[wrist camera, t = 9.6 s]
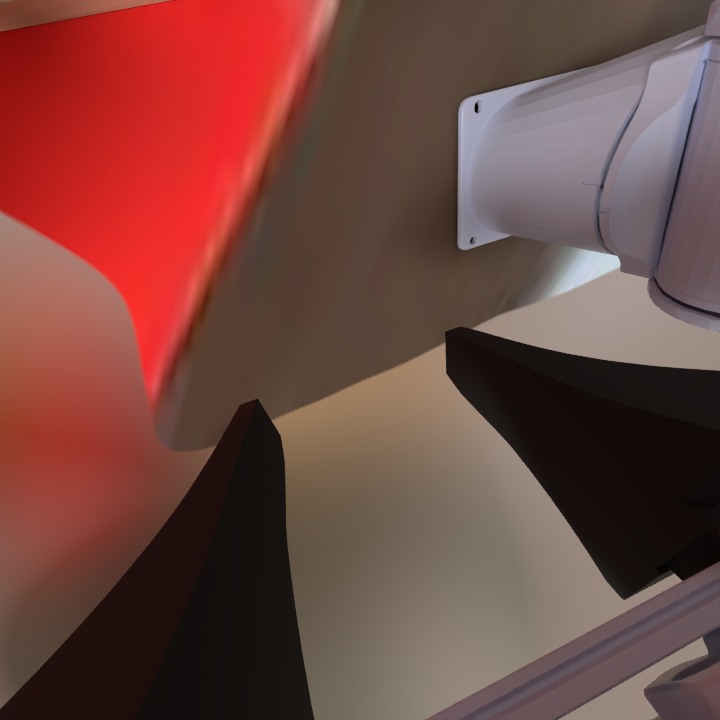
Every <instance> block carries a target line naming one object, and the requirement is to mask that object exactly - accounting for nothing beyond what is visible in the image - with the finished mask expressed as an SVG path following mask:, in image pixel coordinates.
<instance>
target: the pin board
mask: <svg viewBox="0 0 720 720" xmlns="http://www.w3.org/2000/svg"><path fill="white" fill-rule="evenodd" d="M164 1H170V0H0V32H1V31H7V30H12V29H17V28H23V27H28V26H34V25H39V24H45V23H50V22H56V21H61V20H66V19H72V18H77V17H83V16H88V15H94V14H99V13H104V12H110V11H115V10H121V9H126V8H132V7H137V6H142V5H148V4H153V3H159V2H164Z"/></svg>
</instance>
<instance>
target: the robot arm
mask: <svg viewBox="0 0 720 720" xmlns="http://www.w3.org/2000/svg"><path fill="white" fill-rule="evenodd" d="M476 103H477V104H478V111H477V113H476V112H475V110H474V107H475V104H476ZM512 235H513V236H518V237H524V238H529V239H534V240H539V241H544V242H549V243H554V244H560V245H565V246H570V247H575V248H580V249H585V250H590V251H596V252H601V253H606V254H611V255H617V256H618V257H619V259H620V263H621V265H620V271H621V272H624V273H629V274H633V275H637V276H641V277H645V278H649V280H648V287H647V289H648V292H649V296H650V298H651V299H652V301H653V302H654V304H655V305H656V306H658V307H659V308H660V309H661V310H663V311H664V312H665V313H667V314H669V315H671V316H673V317H674V318H676V319H679V320H681V321H684V322H686V323H688V324H692V325H695V326H698V327H701V328H705V329H708V330H713V331H717V332H720V0H714V1H713V2H712V3H711V5H710V8H709V12H708V20H707V24H704V25H702V26H699V27H696V28H694V29H691V30H689V31H686V32H683V33H681V34H678V35H675V36H673V37H670V38H668V39H665V40H662V41H660V42H657V43H654V44H652V45H649V46H646V47H644V48H641V49H639V50H636V51H633V52H631V53H628V54H625V55H623V56H620V57H618V58H615V59H612V60H610V61H607V62H604V63H602V64H599V65H596V66H592V67H588V68H583V69H579V70H575V71H571V72H567V73H563V74H559V75H555V76H551V77H547V78H543V79H539V80H535V81H531V82H527V83H523V84H519V85H515V86H511V87H507V88H503V89H499V90H495V91H491V92H487V93H483V94H479V95H475V96H471V97H468V98H466V99H465V100H463V102H462V103H461V105H460V107H459V119H458V247H459V248H460V249H462V250H467V249H471V248H474V247H477V246H480V245H483V244H486V243H490V242H493V241H496V240H499V239H502V238H506V237H509V236H512ZM472 237H473V241H472V242H471V243H470V239H471V238H472ZM445 338H446V373H447V375H448V376H449V378H450V379H451V381H452V382H453V383H454V385H455V386H456V387H457V389H458V390H459V391H460V393H461V394H462V395H463V396H464V397H465V398H466V399H467V400H468V401H469V402H470V403H471V405H473V407H474V408H475V409H476V410H477V411H478V412H479V413H480V414H481V415H482V416H483V417H484V418H485V419H486V420H487V421H488V422H489V423H490V424H491V425H492V426H493V427H494V428H495V429H496V430H497V431H498V433H499V434H500V435H501V436H502V437H503V438H504V439H505V440H506V441H507V442H508V443H509V445H510V446H511V447H512V448H513V449H514V450H515V452H516V453H517V454H518V456H519V457H520V458H521V459H522V461H523V462H524V463H525V465H526V466H527V467H528V468H529V470H530V471H531V472H532V474H533V475H534V476H535V477H536V479H537V480H538V481H539V483H540V484H541V486H542V487H543V488H544V490H545V491H546V492H547V493H548V495H549V496H550V497H551V499H552V500H553V502H554V503H555V505H556V506H557V507H558V509H559V510H560V512H561V513H562V515H563V516H564V517H565V519H566V520H567V522H568V523H569V524H570V526H571V527H572V529H573V530H574V532H575V533H576V535H577V536H578V538H579V539H580V541H581V543H582V544H583V546H584V547H585V549H586V550H587V552H588V553H589V554H590V556H591V558H592V559H593V561H594V562H595V564H596V565H597V567H598V569H599V570H600V572H601V573H602V575H603V577H604V578H605V580H606V581H607V582H608V583H609V584H610V586H611V587H612V588H613V589H614V590H615V591H616V592H617V594H618V595H619V596H620V597H621V598H622V599H624V600H625V599H627V598H629V597H631V596H633V595H634V594H637V593H638V592H640V591H642V590H644V589H646V588H648V587H650V586H652V585H654V584H656V583H657V582H659V581H661V580H663V579H665V578H667V577H669V576H671V575H672V574H674V573H675V574H676V575H677V576H678V577H679V578H680V579H681V580H682V582H680V583H679V584H677V585H675V586H673V587H671V588H670V589H667V590H666V591H664V592H662V593H660V594H658V595H656V596H655V597H653V598H651V599H649V600H647V601H645V602H643V603H641V604H640V605H638V606H636V607H634V608H632V609H630V610H628V611H627V612H625V613H623V614H621V615H619V616H617V617H615V618H614V619H612V620H610V621H608V622H606V623H604V624H602V625H601V626H599V627H597V628H595V629H593V630H591V631H589V632H587V633H586V634H584V635H582V636H580V637H578V638H576V639H575V640H573V641H571V642H569V643H567V644H565V645H563V646H562V647H560V648H558V649H556V650H554V651H552V652H550V653H549V654H547V655H545V656H543V657H541V658H539V659H537V660H536V661H534V662H532V663H530V664H528V665H526V666H524V667H522V668H521V669H519V670H517V671H515V672H513V673H511V674H509V675H508V676H506V677H504V678H502V679H500V680H498V681H497V682H495V683H493V684H491V685H489V686H487V687H485V688H483V689H482V690H480V691H478V692H476V693H474V694H472V695H470V696H469V697H467V698H465V699H463V700H461V701H459V702H457V703H456V704H454V705H452V706H450V707H448V708H446V709H444V710H442V711H441V712H439V713H437V714H435V715H433V716H431V717H430V718H428V719H426V720H558V719H560V718H562V717H563V716H565V715H567V714H569V713H570V712H572V711H574V710H576V709H577V708H579V707H581V706H582V705H584V704H586V703H588V702H590V701H591V700H593V699H595V698H596V697H598V696H600V695H602V694H603V693H605V692H607V691H609V690H610V689H612V688H614V687H616V686H617V685H619V684H621V683H622V682H624V681H626V680H628V679H629V678H631V677H633V676H635V675H636V674H638V673H640V672H642V671H643V670H645V669H647V668H649V667H650V666H652V665H654V664H655V663H657V662H659V661H661V660H663V659H664V658H666V657H668V656H670V655H671V654H673V653H675V652H677V651H678V650H680V649H682V648H684V647H685V646H687V645H689V644H690V643H692V642H694V641H696V640H697V639H699V638H701V637H703V640H704V643H705V645H706V647H707V649H708V655H705V656H702V657H699V658H696V659H693V660H690V661H687V662H684V663H682V664H679V665H677V666H675V667H673V668H671V669H670V670H668V671H666V672H664V673H663V674H661V675H660V676H659V677H658V678H657V679H656V680H654V681H653V682H652V683H651V684H650V685H648V686H647V687H646V688H645V689H644V695H645V697H646V698H647V700H648V701H649V702H650V704H651V705H652V706H653V708H654V709H655V710H656V712H657V713H658V714H659V716H657V717H656V718H653V719H651V720H720V371H715V370H699V369H684V368H671V367H659V366H648V365H640V364H632V363H623V362H615V361H607V360H601V359H595V358H589V357H583V356H577V355H572V354H566V353H562V352H557V351H552V350H548V349H544V348H539V347H535V346H531V345H527V344H523V343H520V342H516V341H512V340H509V339H504V338H501V337H498V336H494V335H491V334H487V333H484V332H480V331H477V330H473V329H469V328H464V327H457V328H455V329H452V330H449V331H446V332H445ZM285 498H286V495H285V461H284V453H283V448H282V441H281V436H280V434H279V432H278V431H277V429H276V427H275V426H274V424H273V423H272V421H271V419H270V418H269V416H268V415H267V413H266V411H265V410H264V408H263V406H262V405H261V403H260V402H259V400H258V399H255V400H253V401H250V402H247V403H244V404H241V405H240V406H239V408H238V409H237V411H236V413H235V415H234V416H233V418H232V420H231V422H230V424H229V425H228V427H227V429H226V431H225V432H224V434H223V436H222V438H221V439H220V441H219V443H218V445H217V446H216V448H215V450H214V451H213V453H212V455H211V457H210V458H209V460H208V461H207V463H206V465H205V466H204V468H203V469H202V471H201V472H200V474H199V475H198V477H197V479H196V480H195V482H194V483H193V485H192V486H191V488H190V489H189V491H188V492H187V494H186V495H185V497H184V498H183V500H182V501H181V503H180V504H179V505H178V507H177V508H176V510H175V511H174V512H173V514H172V515H171V516H170V518H169V519H168V521H167V522H166V523H165V524H164V526H163V527H162V528H161V530H160V531H159V532H158V534H157V535H156V536H155V538H154V539H153V540H152V541H151V543H150V544H149V545H148V546H147V547H146V549H145V550H144V551H143V552H142V554H141V555H140V556H139V557H138V558H137V560H136V561H135V562H134V563H133V564H132V566H131V567H130V568H129V569H128V571H127V572H126V573H125V574H124V575H123V577H122V578H121V579H120V580H119V582H118V583H117V584H116V585H115V586H114V588H113V589H112V590H111V591H110V592H109V593H108V595H107V596H106V597H105V598H104V599H103V600H102V601H101V602H100V603H99V605H98V606H97V607H96V608H95V609H94V610H93V611H92V612H91V614H90V615H89V616H88V617H87V618H86V619H85V620H84V621H83V623H82V624H81V625H80V626H79V627H78V628H77V629H76V630H75V631H74V632H73V633H72V635H71V636H70V637H69V638H68V639H67V640H66V641H65V642H64V643H63V644H62V645H61V646H60V648H59V649H58V650H57V651H56V652H55V653H54V654H53V655H52V656H51V657H50V658H49V659H48V660H47V662H46V663H45V664H44V665H43V666H42V667H41V668H40V669H39V670H38V671H37V672H36V673H35V674H34V675H33V676H32V677H31V678H30V679H29V680H28V681H27V682H26V683H25V684H24V685H23V686H22V687H21V688H20V690H19V691H18V692H17V693H16V694H15V695H14V696H13V697H12V698H11V699H10V700H9V701H8V702H7V703H6V704H5V705H4V706H3V707H2V708H1V709H0V720H314V717H313V711H312V706H311V700H310V694H309V689H308V683H307V678H306V672H305V666H304V660H303V655H302V649H301V642H300V635H299V629H298V623H297V616H296V609H295V602H294V595H293V587H292V579H291V572H290V563H289V554H288V546H287V533H286V499H285Z"/></svg>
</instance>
